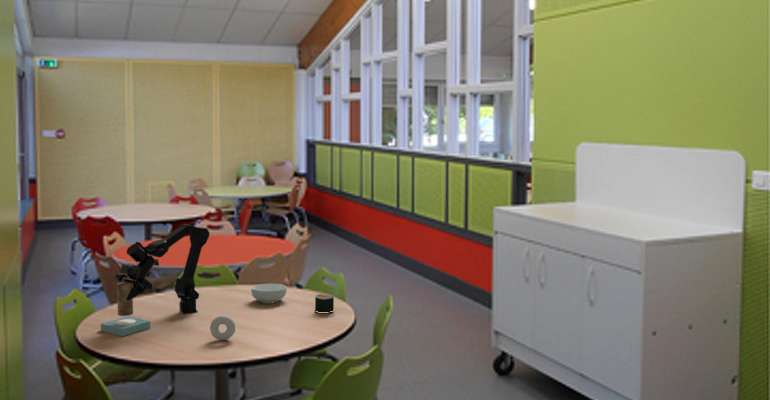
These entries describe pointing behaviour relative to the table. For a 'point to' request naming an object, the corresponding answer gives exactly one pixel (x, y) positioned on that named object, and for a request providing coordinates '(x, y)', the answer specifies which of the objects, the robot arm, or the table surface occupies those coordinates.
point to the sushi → (324, 302)
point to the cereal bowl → (268, 292)
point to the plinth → (125, 326)
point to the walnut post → (124, 299)
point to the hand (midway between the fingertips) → (122, 299)
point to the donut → (226, 321)
